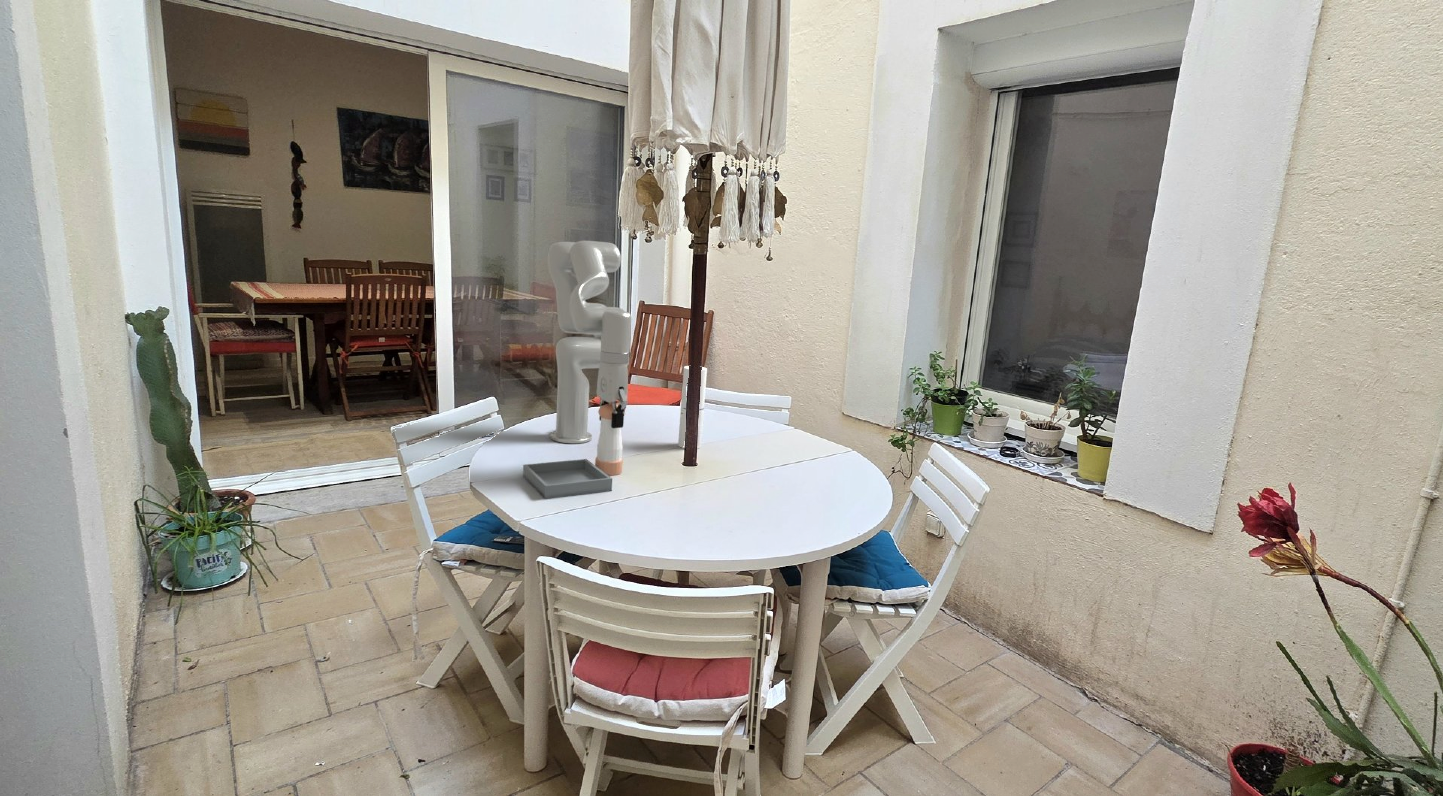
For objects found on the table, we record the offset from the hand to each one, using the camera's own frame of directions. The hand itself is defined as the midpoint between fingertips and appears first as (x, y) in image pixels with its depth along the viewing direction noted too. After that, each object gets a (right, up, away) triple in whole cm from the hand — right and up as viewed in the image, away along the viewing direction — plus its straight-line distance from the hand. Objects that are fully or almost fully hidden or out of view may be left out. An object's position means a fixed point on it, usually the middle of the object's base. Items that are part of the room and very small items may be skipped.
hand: (611, 423), depth 186 cm
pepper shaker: (-1, -13, +3) cm, 14 cm away
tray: (-10, -15, -10) cm, 20 cm away
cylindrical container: (+19, -9, +33) cm, 40 cm away
